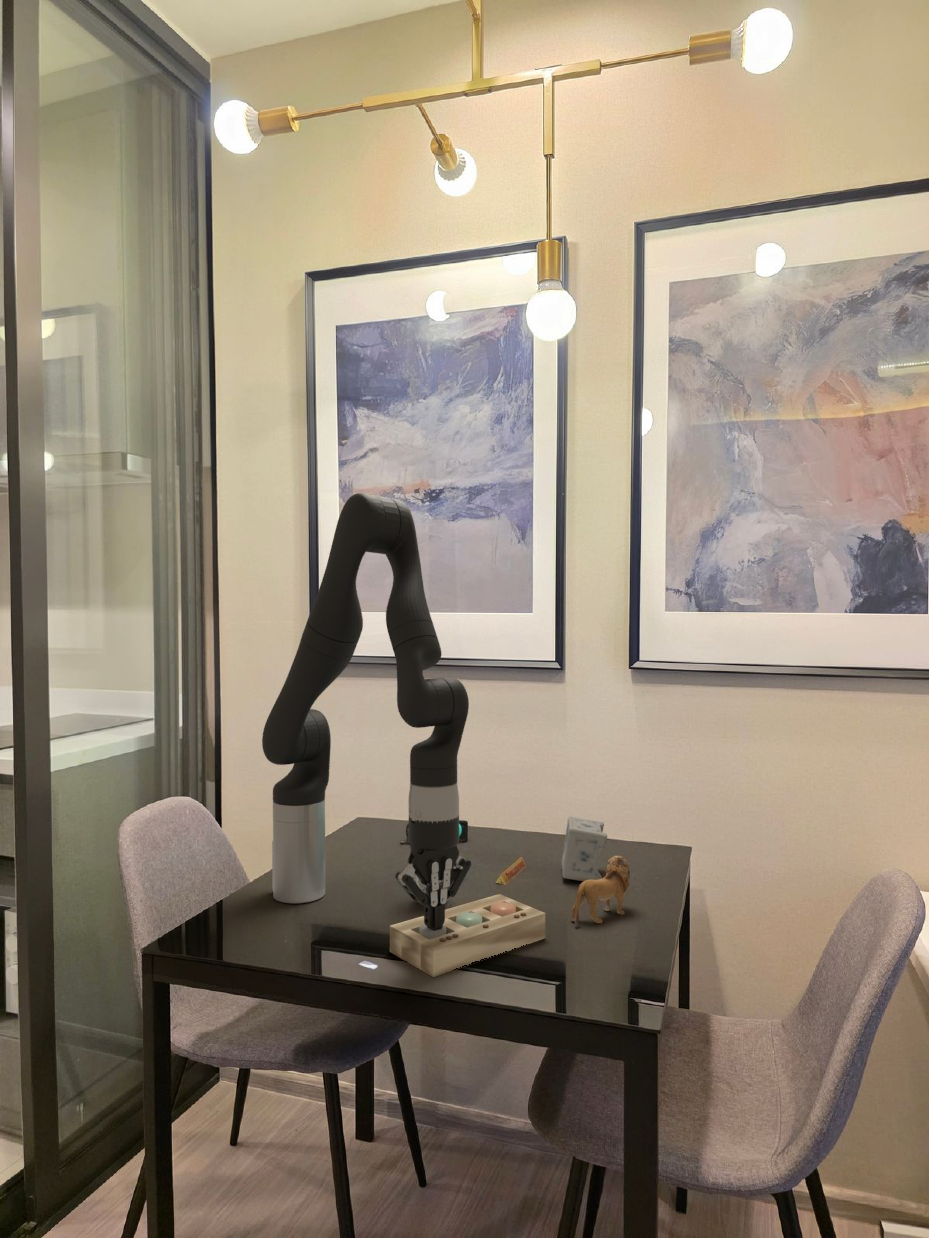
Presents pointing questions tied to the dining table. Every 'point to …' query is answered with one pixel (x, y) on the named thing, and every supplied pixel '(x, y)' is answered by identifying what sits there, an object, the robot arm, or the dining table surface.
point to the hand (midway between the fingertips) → (434, 928)
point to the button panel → (467, 936)
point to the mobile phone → (462, 837)
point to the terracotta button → (503, 908)
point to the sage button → (468, 919)
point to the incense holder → (582, 849)
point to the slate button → (431, 932)
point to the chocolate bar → (511, 871)
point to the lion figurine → (604, 889)
